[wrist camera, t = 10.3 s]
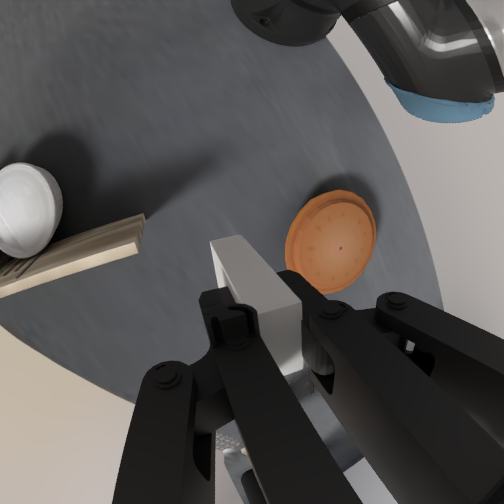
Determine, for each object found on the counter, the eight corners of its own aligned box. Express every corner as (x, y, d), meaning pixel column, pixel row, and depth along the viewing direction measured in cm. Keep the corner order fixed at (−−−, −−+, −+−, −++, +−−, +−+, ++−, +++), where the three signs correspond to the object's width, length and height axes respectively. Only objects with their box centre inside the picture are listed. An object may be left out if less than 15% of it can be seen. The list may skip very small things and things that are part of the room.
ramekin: (-4, 227, 26) (-23, 238, 21) (16, 149, 24) (-4, 150, 19) (56, 257, 31) (42, 273, 26) (82, 177, 29) (68, 182, 24)
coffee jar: (275, 473, 66) (297, 516, 50) (242, 483, 64) (261, 528, 48) (272, 461, 62) (297, 510, 46) (236, 472, 60) (256, 523, 44)
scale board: (-9, 266, 27) (-49, 306, 16) (143, 211, 33) (134, 240, 22) (-6, 274, 27) (-45, 314, 17) (145, 220, 33) (138, 253, 22)
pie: (283, 179, 37) (300, 183, 32) (370, 194, 42) (391, 200, 37) (266, 285, 41) (279, 301, 37) (350, 282, 47) (367, 295, 42)
